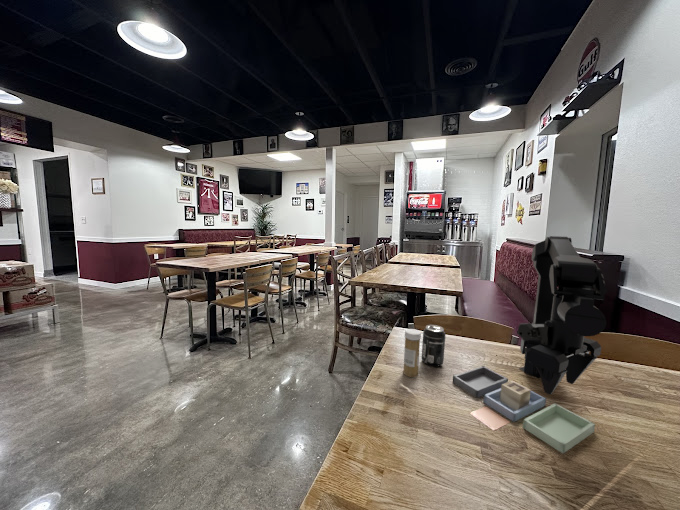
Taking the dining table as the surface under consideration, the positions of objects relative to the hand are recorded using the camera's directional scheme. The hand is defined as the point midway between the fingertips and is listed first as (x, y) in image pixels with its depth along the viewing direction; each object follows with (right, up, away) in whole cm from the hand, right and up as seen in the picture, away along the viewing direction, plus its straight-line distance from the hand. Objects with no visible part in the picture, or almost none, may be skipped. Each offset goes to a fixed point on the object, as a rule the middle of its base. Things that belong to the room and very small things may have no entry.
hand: (559, 388), depth 59 cm
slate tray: (-4, -9, +9) cm, 13 cm away
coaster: (-13, -9, +4) cm, 17 cm away
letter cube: (-4, -8, +9) cm, 13 cm away
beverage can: (-18, -7, +29) cm, 35 cm away
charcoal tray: (-8, -8, +18) cm, 21 cm away
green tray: (0, -10, +1) cm, 10 cm away
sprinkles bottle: (-27, -7, +23) cm, 36 cm away
